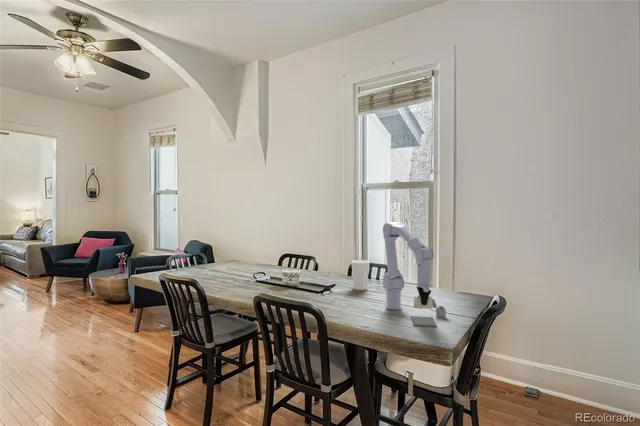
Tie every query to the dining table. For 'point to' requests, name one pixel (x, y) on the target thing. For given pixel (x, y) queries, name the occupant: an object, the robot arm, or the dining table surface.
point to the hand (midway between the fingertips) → (423, 303)
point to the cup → (360, 274)
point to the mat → (423, 321)
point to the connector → (418, 304)
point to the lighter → (439, 310)
